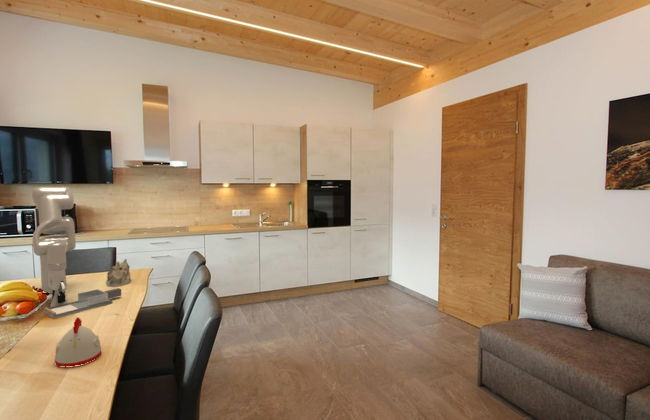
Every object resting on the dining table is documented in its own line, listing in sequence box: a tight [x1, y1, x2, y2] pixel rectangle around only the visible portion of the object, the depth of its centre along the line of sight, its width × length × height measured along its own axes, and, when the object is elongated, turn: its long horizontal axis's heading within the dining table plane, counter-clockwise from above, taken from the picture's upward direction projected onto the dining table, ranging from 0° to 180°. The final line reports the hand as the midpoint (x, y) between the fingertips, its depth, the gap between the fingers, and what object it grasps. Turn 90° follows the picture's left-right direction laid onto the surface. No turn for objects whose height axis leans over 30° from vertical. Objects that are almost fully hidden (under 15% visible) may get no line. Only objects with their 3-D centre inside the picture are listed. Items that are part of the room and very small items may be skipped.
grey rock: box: [105, 258, 132, 288], centre depth 219 cm, size 16×16×15 cm
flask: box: [49, 288, 69, 308], centre depth 180 cm, size 7×7×10 cm
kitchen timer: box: [54, 317, 102, 367], centre depth 129 cm, size 14×14×15 cm
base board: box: [42, 299, 114, 319], centre depth 178 cm, size 13×26×2 cm, turn 145°
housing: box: [77, 287, 122, 306], centre depth 187 cm, size 12×18×4 cm, turn 145°
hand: (58, 300), depth 180 cm, fingers open, 6 cm apart
